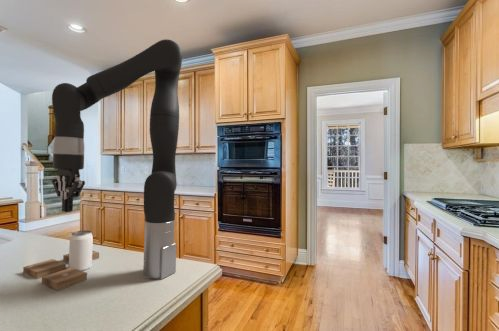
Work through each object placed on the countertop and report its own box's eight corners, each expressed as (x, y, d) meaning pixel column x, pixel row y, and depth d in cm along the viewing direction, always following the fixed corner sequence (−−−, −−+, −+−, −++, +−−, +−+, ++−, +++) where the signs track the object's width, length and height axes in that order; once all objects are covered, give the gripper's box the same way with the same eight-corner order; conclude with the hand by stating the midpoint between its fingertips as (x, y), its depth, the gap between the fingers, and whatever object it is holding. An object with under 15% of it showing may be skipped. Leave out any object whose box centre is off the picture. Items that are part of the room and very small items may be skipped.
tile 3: (99, 257, 95) (99, 252, 95) (76, 264, 88) (76, 259, 88) (85, 254, 98) (86, 248, 98) (63, 260, 91) (63, 254, 91)
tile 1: (86, 279, 77) (87, 272, 77) (57, 290, 70) (57, 283, 70) (71, 273, 81) (71, 267, 81) (41, 283, 73) (41, 276, 73)
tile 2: (65, 269, 84) (65, 263, 84) (36, 278, 76) (36, 272, 77) (52, 264, 87) (52, 258, 87) (23, 273, 80) (23, 266, 80)
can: (67, 273, 81) (68, 235, 81) (70, 266, 86) (71, 231, 87) (90, 270, 84) (92, 233, 84) (92, 263, 89) (93, 229, 90)
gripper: (95, 154, 76) (93, 212, 76) (69, 154, 82) (67, 207, 82) (68, 152, 69) (66, 216, 69) (42, 152, 75) (40, 211, 75)
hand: (67, 211), depth 75 cm, fingers closed
